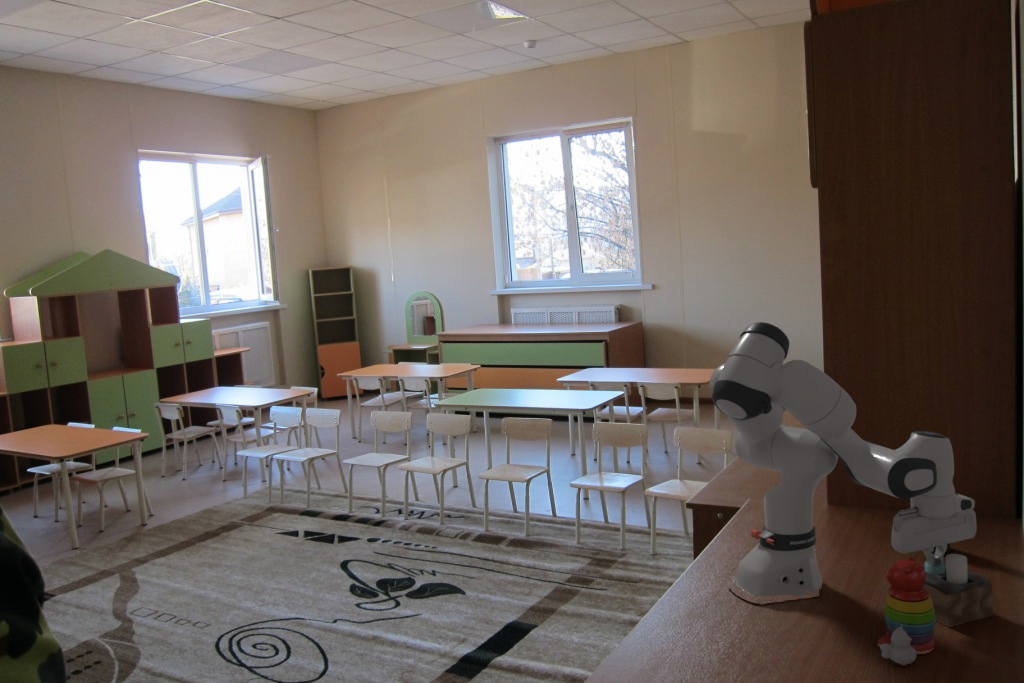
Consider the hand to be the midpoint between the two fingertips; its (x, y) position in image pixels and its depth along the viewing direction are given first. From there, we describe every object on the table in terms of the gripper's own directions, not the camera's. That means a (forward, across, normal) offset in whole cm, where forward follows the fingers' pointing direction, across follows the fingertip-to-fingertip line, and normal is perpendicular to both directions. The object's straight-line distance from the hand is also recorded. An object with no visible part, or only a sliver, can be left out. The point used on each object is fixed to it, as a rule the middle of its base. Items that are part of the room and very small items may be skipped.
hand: (934, 564), depth 189 cm
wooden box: (+9, 0, -3) cm, 10 cm away
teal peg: (+8, 0, 0) cm, 8 cm away
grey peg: (+4, 0, -6) cm, 8 cm away
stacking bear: (+10, -18, -12) cm, 23 cm away
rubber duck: (+10, -25, -17) cm, 31 cm away
